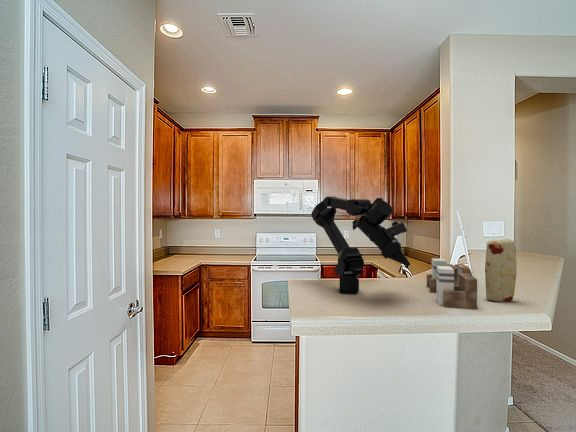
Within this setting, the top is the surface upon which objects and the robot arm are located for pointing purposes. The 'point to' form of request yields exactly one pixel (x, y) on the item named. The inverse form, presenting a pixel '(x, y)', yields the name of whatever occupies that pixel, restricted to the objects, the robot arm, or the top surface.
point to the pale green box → (436, 263)
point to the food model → (500, 270)
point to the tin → (463, 269)
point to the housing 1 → (433, 282)
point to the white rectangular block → (444, 281)
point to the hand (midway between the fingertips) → (409, 265)
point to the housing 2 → (462, 293)
